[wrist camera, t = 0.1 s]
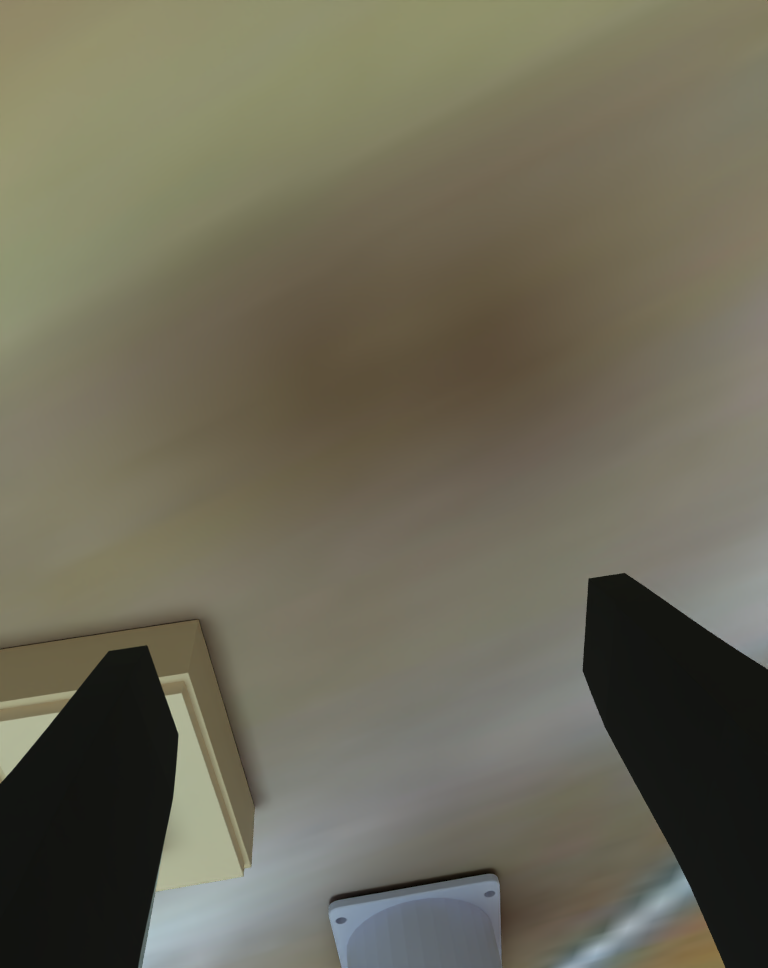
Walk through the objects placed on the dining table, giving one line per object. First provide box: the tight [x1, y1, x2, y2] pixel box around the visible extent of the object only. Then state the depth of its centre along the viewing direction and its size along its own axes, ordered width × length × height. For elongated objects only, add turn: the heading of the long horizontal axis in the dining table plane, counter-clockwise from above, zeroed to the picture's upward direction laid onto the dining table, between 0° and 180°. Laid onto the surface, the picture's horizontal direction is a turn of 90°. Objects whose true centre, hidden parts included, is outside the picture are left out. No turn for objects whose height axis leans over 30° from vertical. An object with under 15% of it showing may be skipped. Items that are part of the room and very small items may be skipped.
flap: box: [0, 681, 244, 968], centre depth 21 cm, size 9×6×4 cm, turn 6°
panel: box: [0, 620, 255, 868], centre depth 24 cm, size 10×13×2 cm
